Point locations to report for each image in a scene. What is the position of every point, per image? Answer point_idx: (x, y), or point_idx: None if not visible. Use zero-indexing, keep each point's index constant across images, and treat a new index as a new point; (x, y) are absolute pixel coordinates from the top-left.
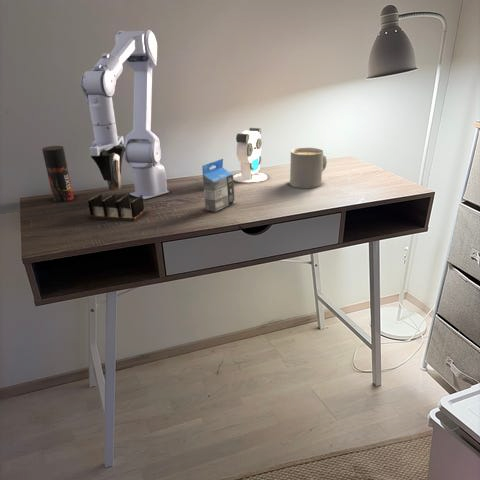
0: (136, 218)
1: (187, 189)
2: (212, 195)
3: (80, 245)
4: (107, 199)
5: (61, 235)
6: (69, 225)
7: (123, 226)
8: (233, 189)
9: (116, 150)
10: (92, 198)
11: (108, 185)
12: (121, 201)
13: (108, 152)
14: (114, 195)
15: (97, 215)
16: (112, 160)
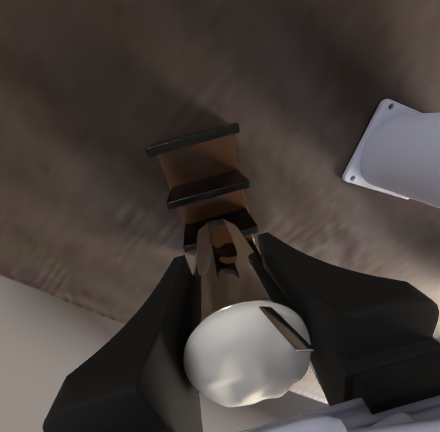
0: None
1: (433, 219)
2: (311, 363)
3: (12, 259)
4: (194, 202)
5: (5, 169)
6: (71, 125)
7: (157, 257)
8: None
9: (332, 392)
10: (170, 149)
11: (197, 239)
12: None
13: (322, 326)
14: (244, 187)
15: (165, 165)
16: (198, 393)
